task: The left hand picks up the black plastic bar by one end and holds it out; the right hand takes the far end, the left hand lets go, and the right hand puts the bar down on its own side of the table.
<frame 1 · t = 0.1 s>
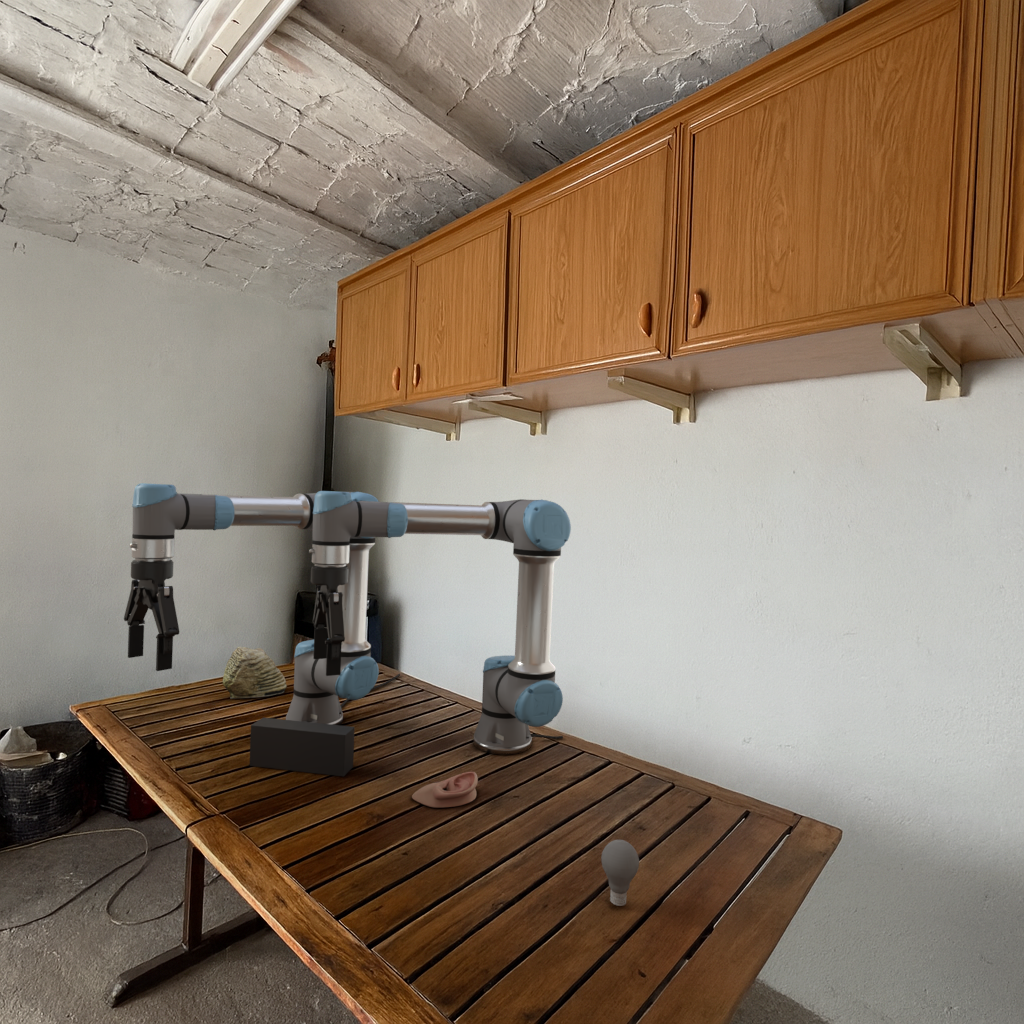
left hand: (149, 663, 129), 28 cm above the table, tool pointing down, fingers open, 13 cm apart
right hand: (326, 666, 132), 28 cm above the table, tool pointing down, fingers open, 13 cm apart
light bulb: (618, 904, 102), on the table
fossil: (254, 694, 198), on the table
bar: (301, 766, 148), on the table
anatomical model: (445, 796, 136), on the table
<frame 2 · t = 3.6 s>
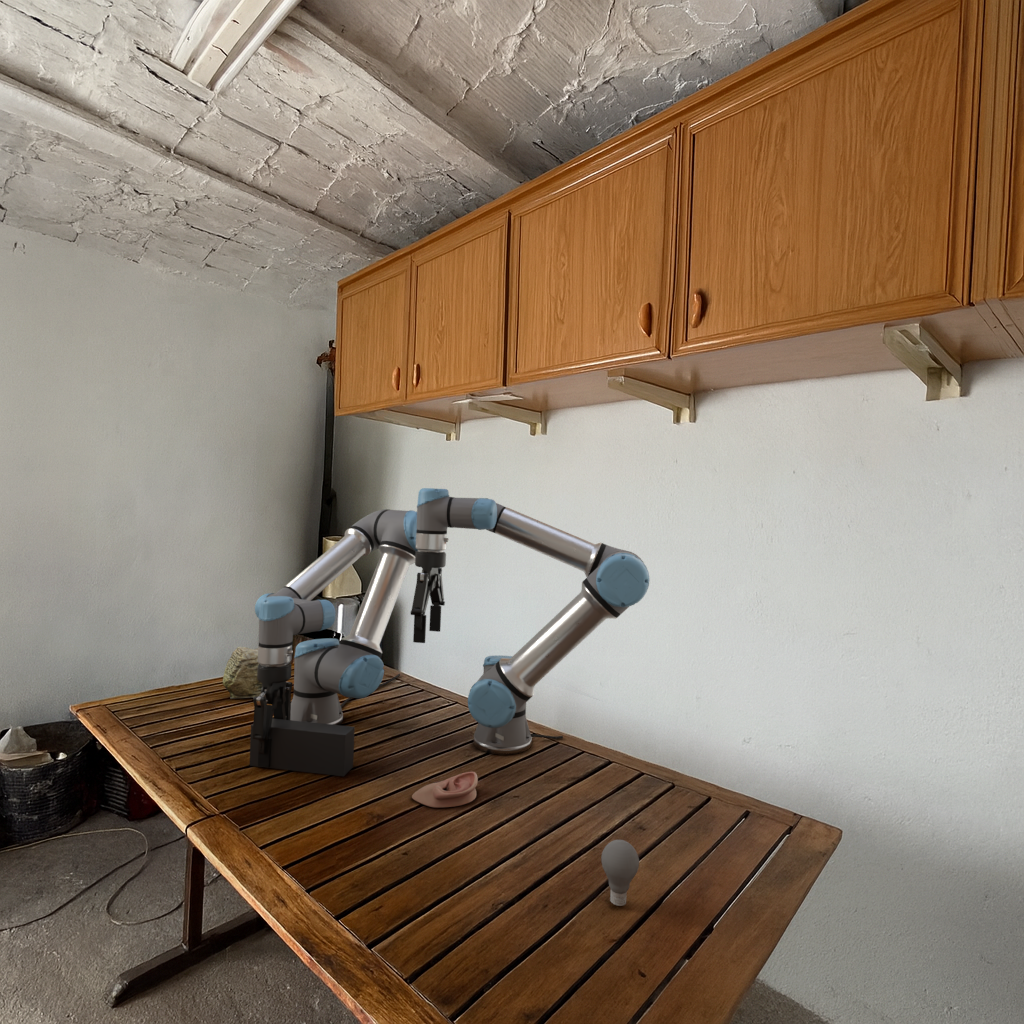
left hand: (271, 760, 149), 1 cm above the table, tool pointing down, fingers closed on bar, 5 cm apart
right hand: (427, 636, 156), 30 cm above the table, tool pointing down, fingers open, 13 cm apart
bar: (301, 766, 148), on the table, touching left hand
everything else where it was.
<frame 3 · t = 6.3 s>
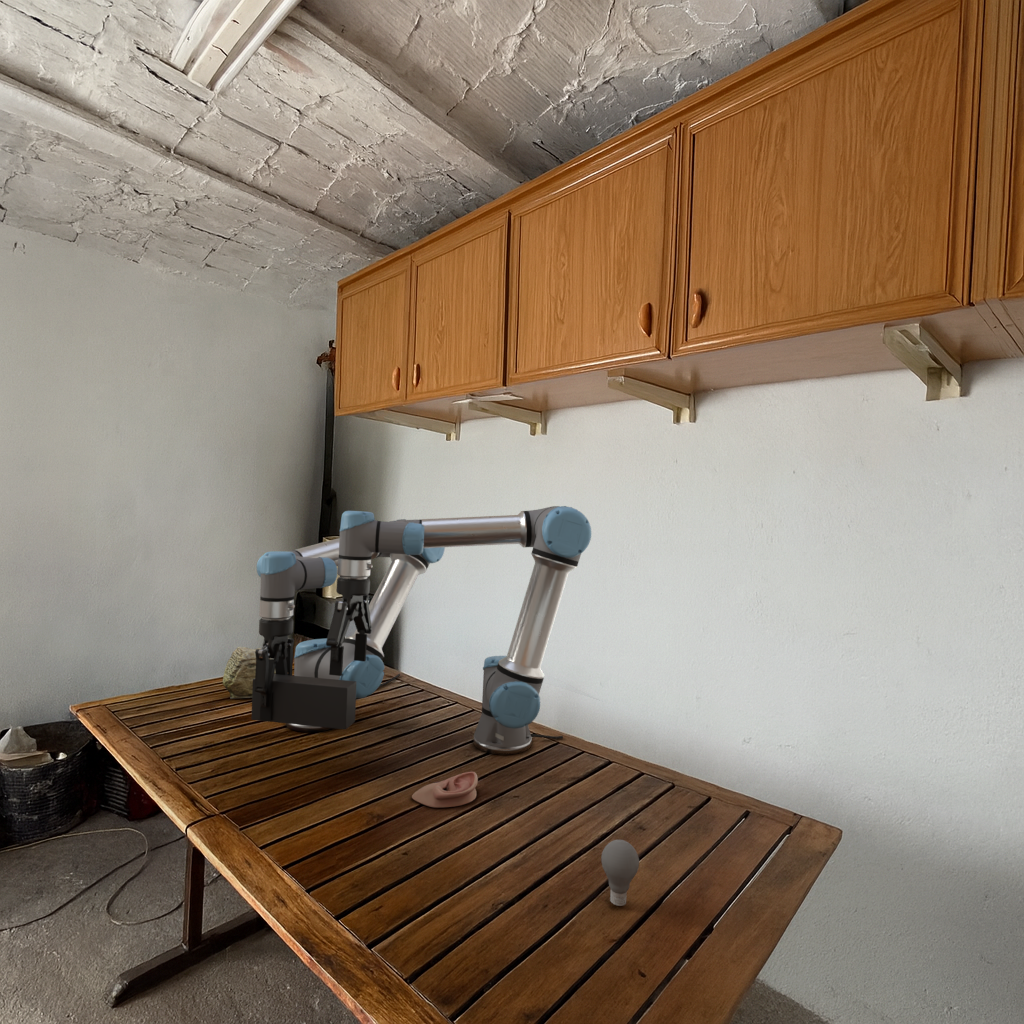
left hand: (272, 715, 149), 11 cm above the table, tool pointing down, fingers closed on bar, 5 cm apart
right hand: (348, 667, 148), 24 cm above the table, tool pointing down, fingers open, 13 cm apart
bar: (303, 720, 148), point 11 cm above the table, touching left hand
everything else where it was.
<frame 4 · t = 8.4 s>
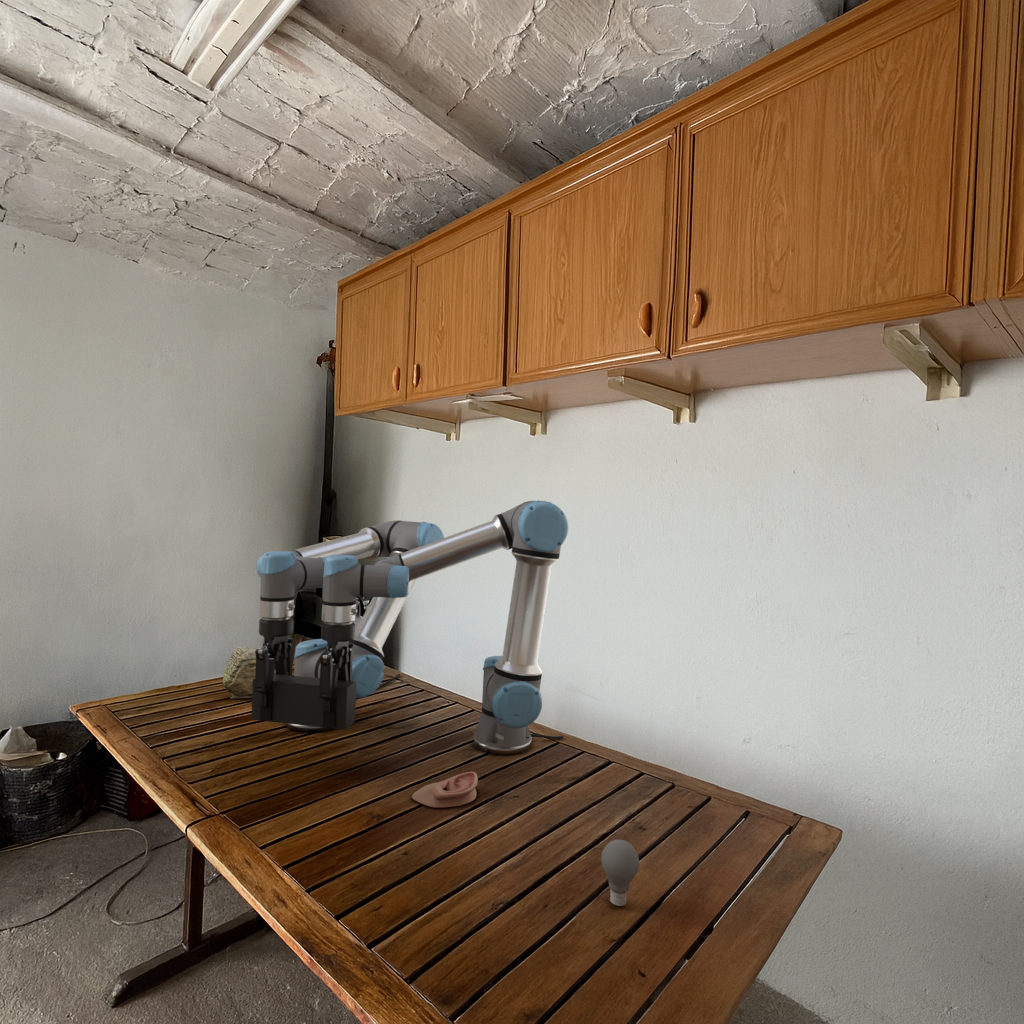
left hand: (272, 715, 149), 11 cm above the table, tool pointing down, fingers closed on bar, 5 cm apart
right hand: (334, 721, 147), 11 cm above the table, tool pointing down, fingers closed on bar, 5 cm apart
bar: (303, 720, 148), point 11 cm above the table, touching left hand, right hand
everything else where it was.
when the left hand's fingers open (11 cm above the table, at t = 9.1 s): bar stays where it is, held by the right hand.
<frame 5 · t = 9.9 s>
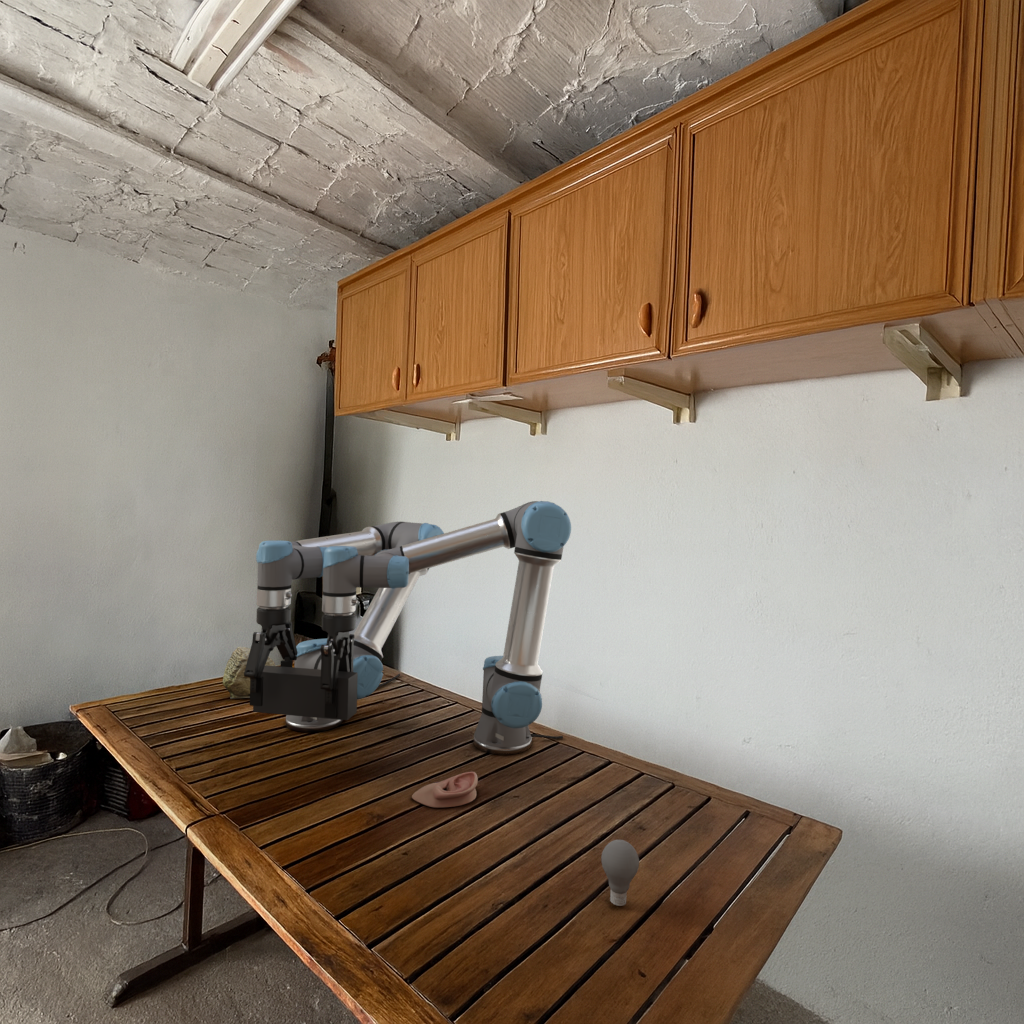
left hand: (271, 696, 149), 16 cm above the table, tool pointing down, fingers open, 13 cm apart
right hand: (336, 712, 147), 13 cm above the table, tool pointing down, fingers closed on bar, 5 cm apart
bar: (305, 712, 148), point 13 cm above the table, touching right hand
everything else where it was.
when the right hand's fingers open (2 cm above the table, at t = 15.5 s): bar drops 2 cm, on the table.
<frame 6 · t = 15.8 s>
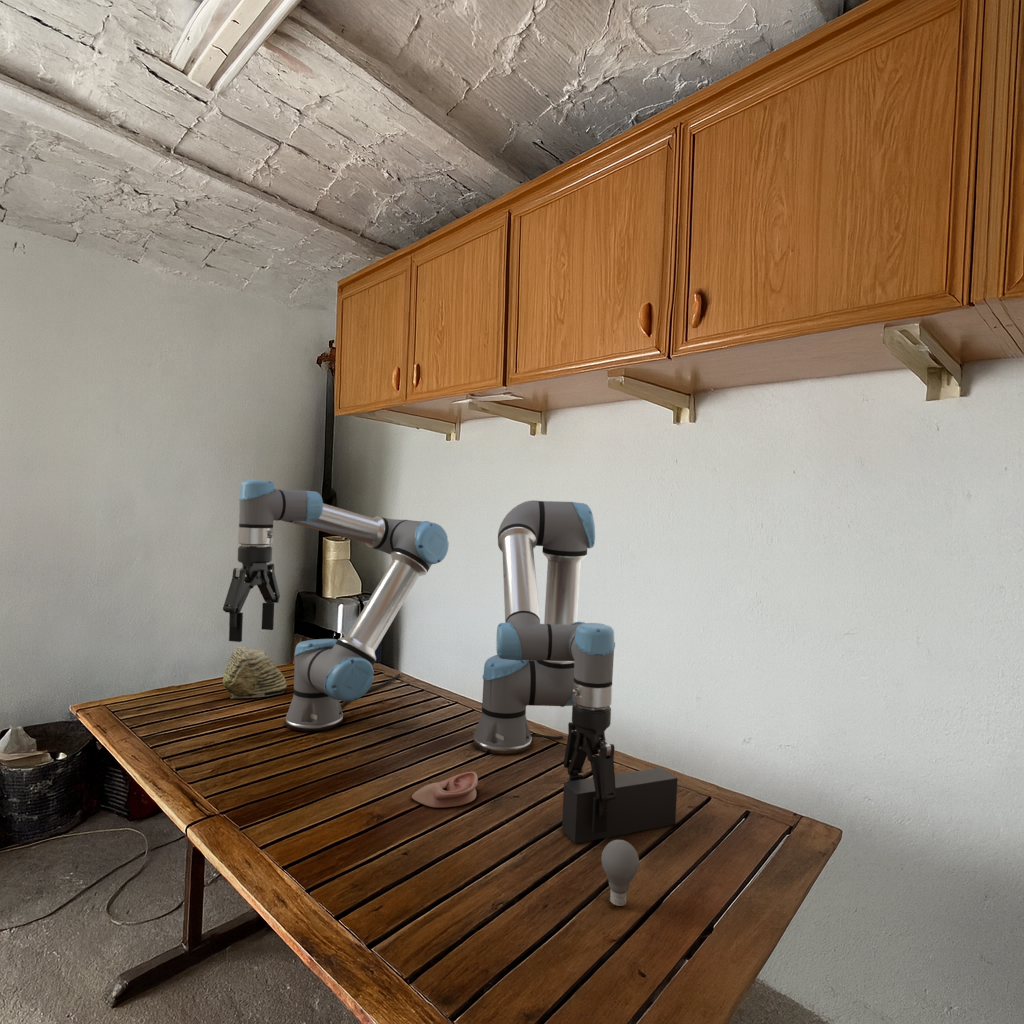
left hand: (252, 635, 150), 30 cm above the table, tool pointing down, fingers open, 13 cm apart
right hand: (586, 819, 124), 3 cm above the table, tool pointing down, fingers open, 9 cm apart
bar: (619, 827, 127), on the table
everything else where it was.
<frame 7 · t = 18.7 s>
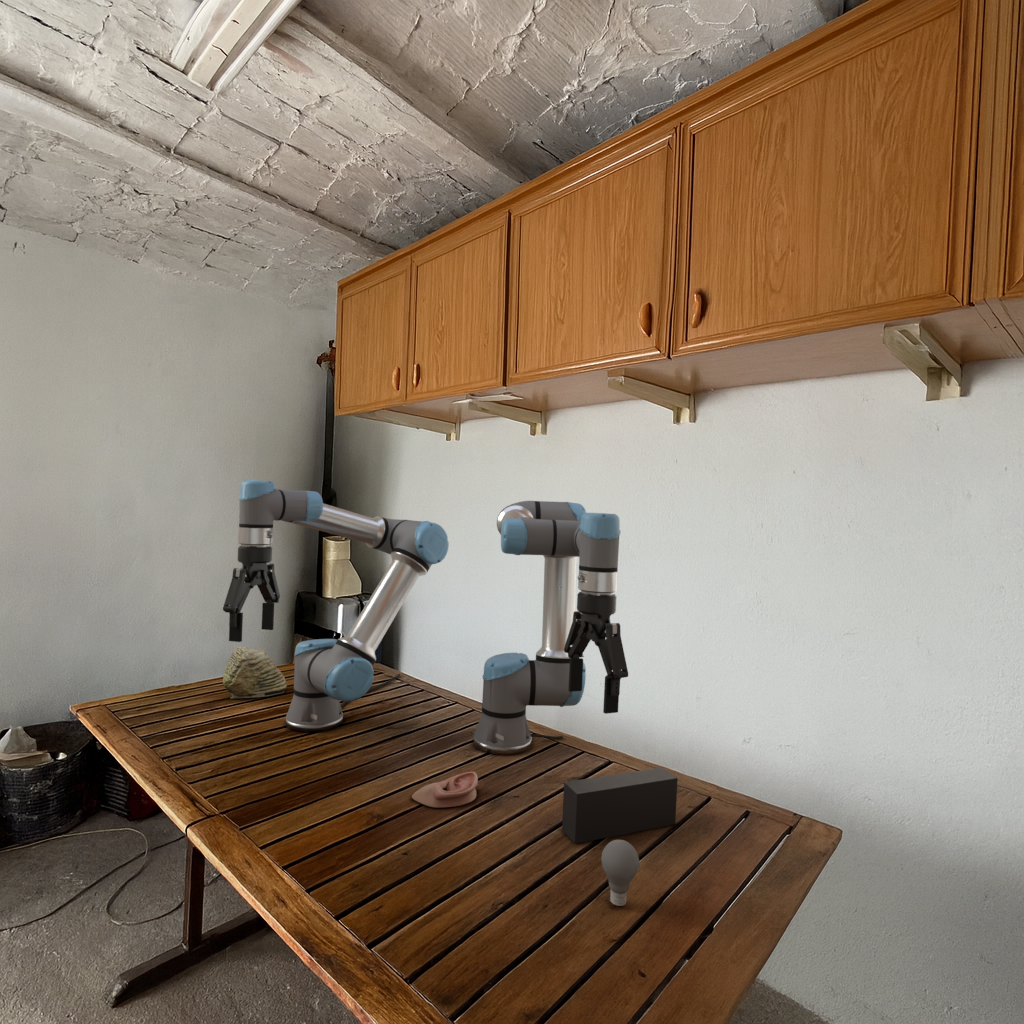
left hand: (252, 635, 150), 30 cm above the table, tool pointing down, fingers open, 13 cm apart
right hand: (591, 701, 123), 26 cm above the table, tool pointing down, fingers open, 13 cm apart
nothing on the table moved.
at the end: bar inside the target area (7.7 cm from its centre), on the table; the left hand is holding nothing; the right hand is holding nothing; bar at rest at the end (0.0 cm/s) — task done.
